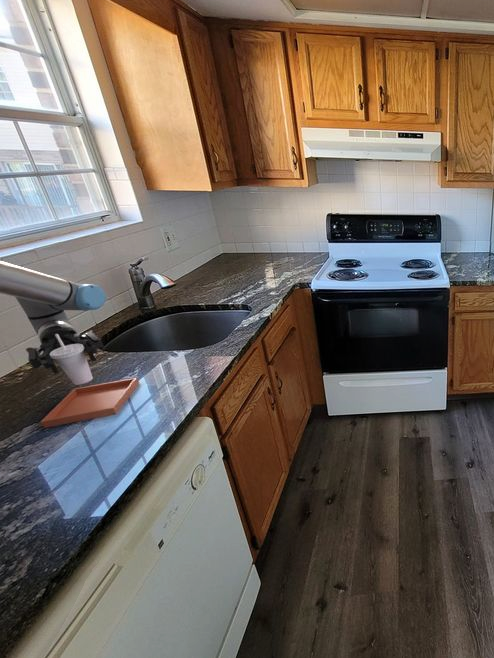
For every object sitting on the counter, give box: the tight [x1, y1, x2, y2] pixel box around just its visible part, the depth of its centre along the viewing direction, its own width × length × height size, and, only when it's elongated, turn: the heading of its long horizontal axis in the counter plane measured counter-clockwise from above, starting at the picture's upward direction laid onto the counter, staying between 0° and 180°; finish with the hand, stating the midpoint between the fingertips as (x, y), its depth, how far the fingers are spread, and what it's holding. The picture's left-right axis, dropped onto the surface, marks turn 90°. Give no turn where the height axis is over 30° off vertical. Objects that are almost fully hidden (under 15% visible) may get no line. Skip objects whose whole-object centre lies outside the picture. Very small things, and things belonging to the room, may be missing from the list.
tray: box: [40, 377, 140, 429], centre depth 100 cm, size 15×15×2 cm
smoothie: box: [49, 334, 94, 386], centre depth 94 cm, size 6×6×14 cm
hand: (73, 362), depth 91 cm, fingers closed on smoothie, 6 cm apart
